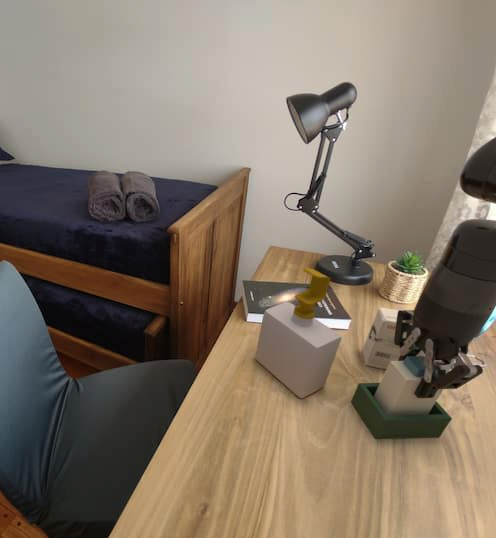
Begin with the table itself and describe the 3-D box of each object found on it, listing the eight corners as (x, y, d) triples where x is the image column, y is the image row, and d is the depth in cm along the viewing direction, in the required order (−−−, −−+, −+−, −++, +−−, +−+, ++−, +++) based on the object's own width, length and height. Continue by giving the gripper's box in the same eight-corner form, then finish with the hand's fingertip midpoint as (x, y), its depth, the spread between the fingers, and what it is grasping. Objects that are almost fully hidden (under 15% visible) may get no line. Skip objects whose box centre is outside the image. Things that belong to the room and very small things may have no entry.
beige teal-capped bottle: (371, 401, 62) (393, 353, 56) (408, 400, 62) (434, 353, 56) (385, 420, 59) (410, 372, 53) (424, 420, 59) (454, 371, 53)
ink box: (407, 359, 73) (430, 313, 68) (415, 376, 69) (440, 329, 63) (360, 350, 76) (378, 305, 70) (364, 366, 72) (384, 319, 66)
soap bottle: (253, 358, 74) (273, 259, 63) (276, 348, 77) (299, 251, 65) (300, 401, 65) (334, 294, 53) (325, 387, 67) (363, 282, 56)
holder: (409, 400, 65) (419, 381, 62) (439, 437, 58) (452, 418, 56) (350, 401, 65) (358, 383, 62) (375, 438, 58) (385, 419, 56)
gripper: (537, 329, 42) (471, 422, 51) (445, 269, 55) (404, 353, 63) (474, 330, 42) (418, 423, 51) (397, 270, 55) (362, 353, 63)
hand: (411, 384), depth 57 cm, fingers closed on beige teal-capped bottle, 4 cm apart
